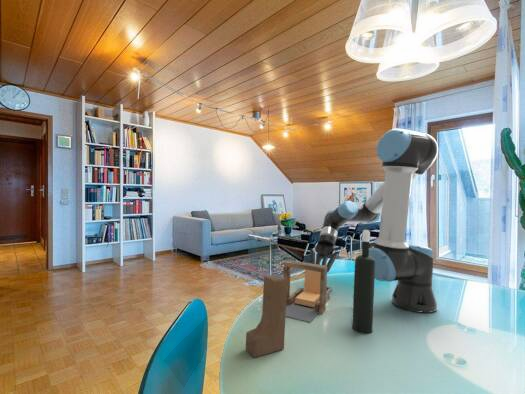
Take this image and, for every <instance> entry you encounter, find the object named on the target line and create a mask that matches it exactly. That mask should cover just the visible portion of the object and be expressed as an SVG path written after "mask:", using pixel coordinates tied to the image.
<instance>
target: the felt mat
mask: <svg viewBox="0 0 525 394" xmlns="http://www.w3.org/2000/svg"><path fill="white" fill-rule="evenodd" d="M318 314H320V313H319V312H315V308H313V307H308V306H307V307H306V306H304V305H302V306H301V305H299V304H294V303H293V304H290V305H289V306H288V305H286V314H285V318H290V319H293V320H297V321H300V322H305V323H308V324H309V323H310V324H311V323H312V321H314V319H315V318H316V317H317V316H318Z"/></svg>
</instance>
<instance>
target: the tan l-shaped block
mask: <svg viewBox="0 0 525 394" xmlns="http://www.w3.org/2000/svg"><path fill="white" fill-rule="evenodd" d="M320 277H321V272H317V271H311V270H304V287H303V288H304V291H303V292H302V293H301V294H299V295H298V296H297V297H296V298H295V302H294V303H295V305H300V306H301V305H302V306H304V307H306V306H307V307H309V308H315V304H316V303H317V302H318V301H319V300H320Z"/></svg>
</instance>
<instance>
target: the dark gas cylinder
mask: <svg viewBox="0 0 525 394" xmlns="http://www.w3.org/2000/svg"><path fill="white" fill-rule="evenodd" d="M361 236H362V237H361V241H362V242H361V243H362V245H361V254H360V255H358V256H356V257H355V260H354V277H353V279H354V280H353V298H352V299H353V300H352V302H353V303H352V321H351V322H352V323H351V328H352V330H353V331H355V332H357V333H359V334H363V335H368V334H372V333H373V322H374V321H373V320H374V303H375V301H374V299H375V298H374V297H375V296H374V295H375V280H376V279H375V260H374V259H373V258H372V257H371V256H369V250H370V240H371V238H370V237H371V232H370V229H363V231H362V235H361Z"/></svg>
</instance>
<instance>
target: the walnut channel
mask: <svg viewBox="0 0 525 394" xmlns="http://www.w3.org/2000/svg"><path fill="white" fill-rule="evenodd" d="M291 269H297V270H299V269H300V270H304V271H305V270H311V271H317V272H321V277H320V300H319V301H318V302H317V303H316V304H315V307H314V309H315V312H319V313H318V314H321V315H324V313H325V311H326V309H327V308H326V307H327V306H326V305H327V303H328V302H329V300H330V299H331V298H330V293H331V292H330V293H326V287H328V286H327V283H328V282H327V281H328V280H327V278H328V272H327V266H324V265H321V264H320V265H317V264H315V263H314V264H311V262H303V261H302V262H301V261H297V260H296V261H295V260H291V259H290V260H286V261H284V262H283V276H282V277H284V278H286V279H287V292H286V305H288V306H289V305H290V304H294V303H295V298H296V297H297V296H298V295H299V294H301V293H302V292H303V291H304V287H300V288H299V289H297V290H296V291H294V292H293V293H292V294H291V293H290V292H291V291H290V290H291V272H292V270H291Z"/></svg>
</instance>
